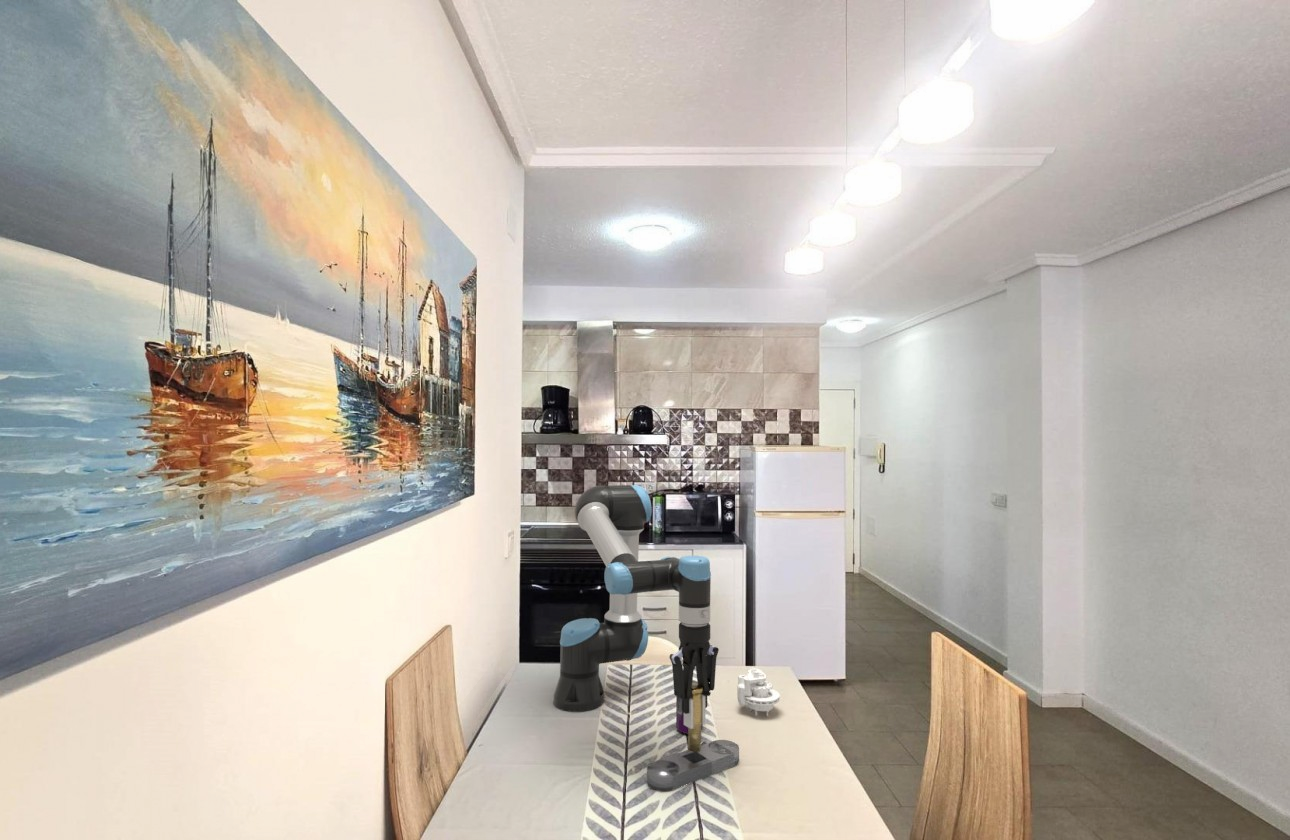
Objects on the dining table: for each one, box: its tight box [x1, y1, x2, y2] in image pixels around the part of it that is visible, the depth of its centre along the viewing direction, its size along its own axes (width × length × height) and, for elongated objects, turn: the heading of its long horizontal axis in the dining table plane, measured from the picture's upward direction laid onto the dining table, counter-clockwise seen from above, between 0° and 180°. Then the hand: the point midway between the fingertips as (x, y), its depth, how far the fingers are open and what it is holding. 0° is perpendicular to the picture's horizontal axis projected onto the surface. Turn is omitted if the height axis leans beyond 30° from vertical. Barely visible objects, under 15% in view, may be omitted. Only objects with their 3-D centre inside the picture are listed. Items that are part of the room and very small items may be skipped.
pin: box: [687, 685, 703, 752], centre depth 139 cm, size 4×4×14 cm
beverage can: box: [675, 680, 704, 735], centre depth 159 cm, size 7×7×12 cm
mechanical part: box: [736, 667, 780, 717], centre depth 171 cm, size 11×12×12 cm
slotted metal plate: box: [646, 739, 740, 793], centre depth 138 cm, size 7×26×3 cm, turn 124°
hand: (694, 724), depth 139 cm, fingers closed on pin, 3 cm apart
